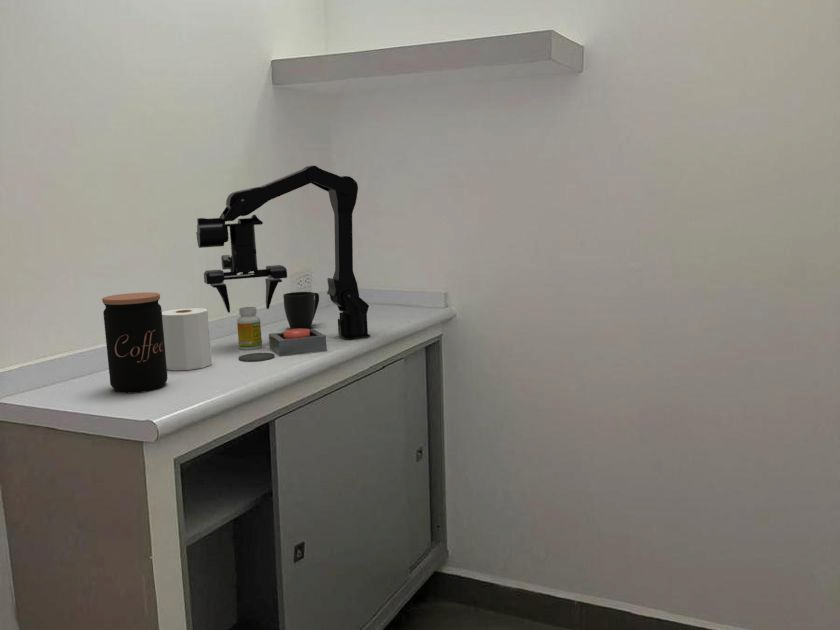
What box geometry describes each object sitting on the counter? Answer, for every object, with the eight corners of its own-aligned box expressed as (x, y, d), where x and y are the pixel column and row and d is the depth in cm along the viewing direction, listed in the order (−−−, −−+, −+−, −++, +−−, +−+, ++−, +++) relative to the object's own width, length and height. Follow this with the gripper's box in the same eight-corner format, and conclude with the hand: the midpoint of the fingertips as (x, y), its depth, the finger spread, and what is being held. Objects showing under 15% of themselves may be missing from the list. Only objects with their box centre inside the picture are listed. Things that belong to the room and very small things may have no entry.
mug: (331, 324, 229) (329, 290, 228) (302, 332, 219) (299, 296, 218) (308, 323, 234) (306, 289, 232) (279, 330, 224) (276, 295, 223)
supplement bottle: (256, 350, 196) (253, 309, 195) (235, 350, 198) (232, 309, 196) (265, 345, 202) (262, 306, 200) (244, 346, 203) (241, 306, 201)
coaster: (270, 352, 192) (270, 351, 192) (278, 359, 185) (278, 357, 185) (235, 356, 189) (235, 355, 189) (242, 363, 182) (241, 361, 182)
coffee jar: (112, 396, 156) (103, 301, 153) (109, 385, 166) (100, 295, 163) (171, 389, 160) (163, 296, 158) (164, 378, 170) (157, 291, 167)
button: (306, 337, 199) (306, 327, 198) (313, 341, 193) (312, 331, 193) (281, 340, 197) (281, 330, 196) (287, 344, 191) (286, 333, 191)
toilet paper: (176, 361, 188) (171, 308, 186) (219, 360, 186) (215, 307, 184) (155, 371, 178) (149, 315, 176) (200, 370, 176) (195, 314, 174)
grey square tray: (314, 343, 202) (313, 329, 202) (326, 350, 192) (326, 335, 192) (269, 348, 198) (268, 333, 198) (279, 356, 188) (278, 340, 188)
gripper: (275, 240, 207) (279, 303, 209) (198, 246, 200) (203, 310, 202) (285, 243, 196) (289, 308, 199) (204, 248, 190) (210, 316, 192)
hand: (248, 310), depth 198 cm, fingers open, 9 cm apart
